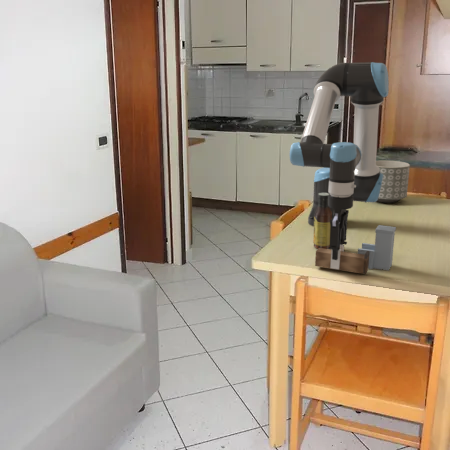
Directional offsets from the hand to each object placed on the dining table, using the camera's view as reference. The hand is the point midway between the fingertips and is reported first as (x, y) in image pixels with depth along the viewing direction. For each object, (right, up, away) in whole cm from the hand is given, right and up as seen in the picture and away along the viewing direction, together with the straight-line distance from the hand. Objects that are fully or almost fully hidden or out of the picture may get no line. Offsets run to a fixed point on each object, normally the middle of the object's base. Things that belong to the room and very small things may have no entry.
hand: (336, 266), depth 168 cm
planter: (+42, +24, +88) cm, 101 cm away
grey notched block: (+13, 0, +4) cm, 14 cm away
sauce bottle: (-1, +5, +22) cm, 22 cm away
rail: (+1, -1, -1) cm, 2 cm away
